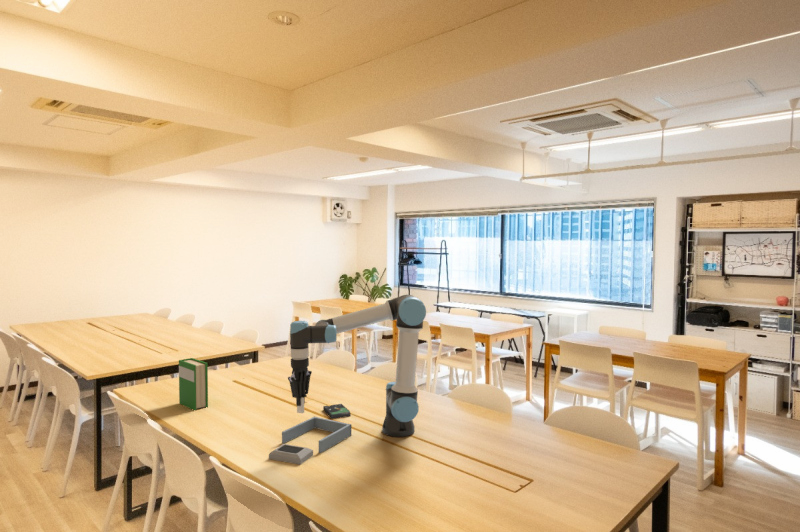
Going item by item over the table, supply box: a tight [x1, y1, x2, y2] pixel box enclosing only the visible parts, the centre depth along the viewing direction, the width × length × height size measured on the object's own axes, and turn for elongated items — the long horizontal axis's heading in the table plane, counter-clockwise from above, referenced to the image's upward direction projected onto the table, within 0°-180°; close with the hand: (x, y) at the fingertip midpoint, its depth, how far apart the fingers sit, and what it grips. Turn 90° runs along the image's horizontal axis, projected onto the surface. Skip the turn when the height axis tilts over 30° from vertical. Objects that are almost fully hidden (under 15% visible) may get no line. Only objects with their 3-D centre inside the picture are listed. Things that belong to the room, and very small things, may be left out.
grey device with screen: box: [268, 443, 314, 466], centre depth 202 cm, size 10×4×15 cm
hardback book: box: [178, 357, 209, 411], centre depth 267 cm, size 18×7×24 cm, turn 48°
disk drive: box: [322, 403, 351, 420], centre depth 256 cm, size 10×3×15 cm
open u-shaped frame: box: [281, 416, 352, 454], centre depth 221 cm, size 21×22×5 cm
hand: (300, 412), depth 210 cm, fingers closed
